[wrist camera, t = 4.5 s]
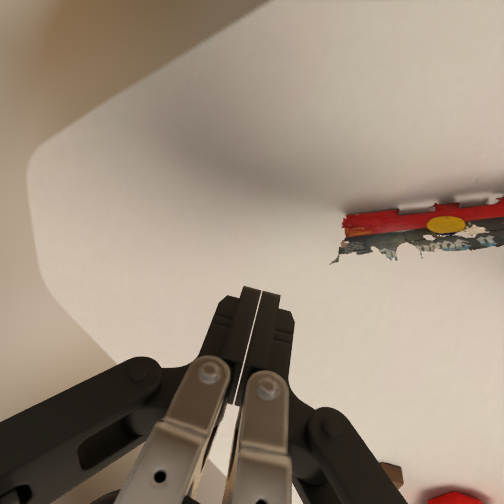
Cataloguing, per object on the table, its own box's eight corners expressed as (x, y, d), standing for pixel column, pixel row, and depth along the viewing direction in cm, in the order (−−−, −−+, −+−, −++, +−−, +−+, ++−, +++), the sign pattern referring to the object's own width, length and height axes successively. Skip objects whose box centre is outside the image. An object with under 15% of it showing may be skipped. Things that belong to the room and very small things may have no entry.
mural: (339, 301, 25) (342, 369, 20) (327, 208, 21) (326, 264, 17) (543, 289, 22) (603, 366, 17) (570, 177, 18) (656, 236, 13)
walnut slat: (364, 507, 41) (365, 523, 39) (347, 502, 41) (347, 518, 39) (401, 467, 35) (404, 484, 34) (381, 461, 35) (383, 478, 34)
